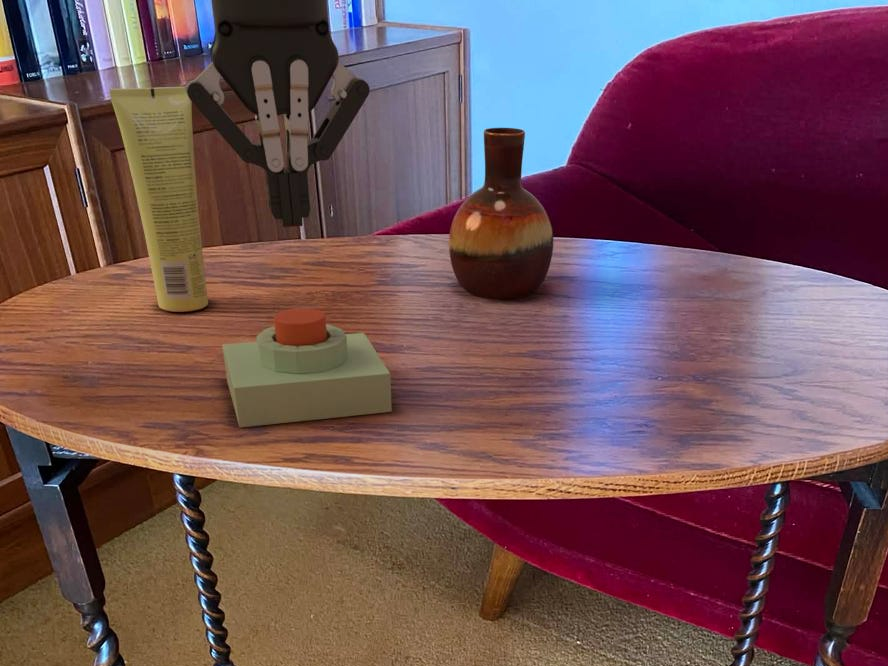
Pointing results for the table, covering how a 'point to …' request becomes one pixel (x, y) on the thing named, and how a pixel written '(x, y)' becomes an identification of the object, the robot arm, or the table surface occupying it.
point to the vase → (501, 227)
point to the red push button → (300, 327)
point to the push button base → (306, 379)
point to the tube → (165, 189)
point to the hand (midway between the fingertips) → (291, 224)
